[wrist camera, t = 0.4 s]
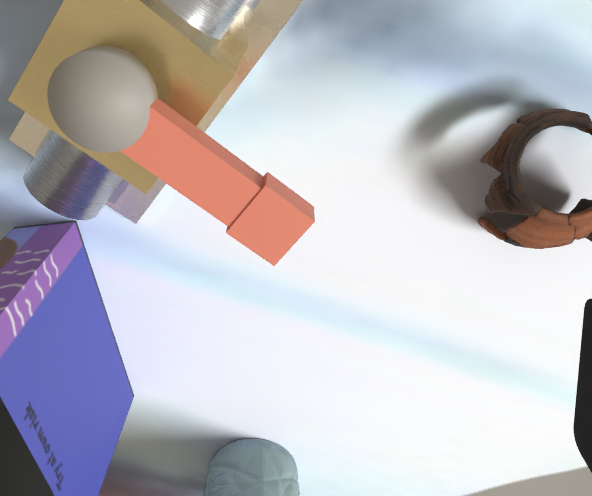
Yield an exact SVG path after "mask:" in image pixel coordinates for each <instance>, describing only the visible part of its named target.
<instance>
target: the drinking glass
mask: <svg viewBox="0 0 592 496" xmlns="http://www.w3.org/2000/svg"><path fill="white" fill-rule="evenodd" d="M205 486H206V488H205V491H204V495H203V496H299V495H300V492H299V485H298V474H297V467H296V463H295V461H294V458H293V457H292V455H291V454H290V453H289V452H288V451H287V450H286V449H285V448H283V447H282V446H280V445H278V444H276V443H274V442H271V441H268V440H264V439H258V438H249V439H242V440H240V439H238V440H236V441H234V442H230V443H229V444H226V445H225V446H224V447H222V448H221V449H220V450H219V451H218V452H217V453H216V454H215V455H214V457H213V458H212V460H211V462H210V466H209V470H208V475H207V479H206V483H205Z"/></svg>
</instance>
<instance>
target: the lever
mask: <svg viewBox="0 0 592 496" xmlns="http://www.w3.org/2000/svg"><path fill="white" fill-rule="evenodd" d="M47 98H48V105H49V109H50V112H51V114H52V117H53V119H54V121H55V122H56V124H57V125H58V127H59V128H60V129H61V131H62V132H63V133H64V134H65V135H66V136H67V137H68V138H69V139H71V140H72V141H73V142H75V143H76V144H78V145H79V146H81V147H84V148H86V149H89V150H91V151H96V152H102V153H112V152H118V151H121V152H122V153H124V154H125V155H126V156H128V157H129V158H131V159H132V160H134V161H135V162H136V163H138V164H139V165H141V166H142V167H144V168H145V169H147V170H148V171H149V172H151V173H152V174H154V175H155V176H157V177H158V178H159V179H161V180H162V181H164V182H165V183H167V184H168V185H169V186H171V187H172V188H174V189H175V190H177V191H178V192H180V193H181V194H182V195H184V196H185V197H187V198H188V199H190V200H191V201H192V202H194V203H195V204H197V205H198V206H200V207H201V208H202V209H204V210H205V211H207V212H208V213H210V214H211V215H213V216H214V217H215V218H217V219H218V220H220V221H221V222H223V223H224V224H225V225H227V226H228V227H227V231H226V233H227V234H229V235H230V236H232V237H233V238H234V239H236V240H237V241H239V242H240V243H242V244H243V245H245V246H246V247H247V248H249V249H250V250H252V251H253V252H255V253H256V254H258V255H259V256H260V257H262V258H263V259H265V260H266V261H268V262H269V263H271V264H272V265H273V266H275V265H276V264H277V262H278V261H279V260H280V259H281V258H282V257H283V256H284V255H285V254H286V253H287V251H288V250H289V249H290V248H291V247H292V246H293V245H294V244H295V243H296V242H297V241H298V239H299V238H300V237H301V236H302V235H303V234H304V233H305V232H306V231H307V230H308V228H309V227H310V226H311V225H312V224H313V223H314V222H315V218H314V207H313V206H312V205H311V204H309V203H308V202H307V201H305V200H304V199H303V198H301V197H300V196H299V195H297V194H296V193H295V192H294V191H292V190H291V189H290V188H288V187H287V186H286V185H284V184H283V183H282V182H280V181H279V180H278V179H276V178H275V177H274V176H272V175H271V174H270V173H268V172H267V173H266V174H265V175H264V177H263V176H262V175H260V174H259V173H258V172H256V171H255V170H254V169H252V168H251V167H250V166H248V165H247V164H246V163H244V162H243V161H242V160H240V159H239V158H238V157H236V156H235V155H233V154H232V153H231V152H229V151H228V150H227V149H225V148H224V147H223V146H221V145H220V144H219V143H217V142H216V141H215V140H213V139H212V138H211V137H209V136H208V135H207V134H205V133H204V132H203V131H201V130H200V129H199V128H197V127H196V126H195V125H193V124H192V123H191V122H189V121H188V120H187V119H185V118H184V117H183V116H181V115H180V114H179V113H177V112H176V111H175V110H173V109H172V108H171V107H169V106H168V105H167V104H165V103H164V102H162V101H161V100H160V99H158V93H157V88H156V85H155V82H154V80H153V77H152V76H151V74H150V72H149V71H148V69H147V68H146V67H145V65H144V64H143V63H142V62H141V61H140V60H139V59H137V58H136V57H135V56H134V55H132V54H131V53H129V52H127V51H125V50H123V49H120V48H117V47H113V46H106V45H101V46H93V47H90V48H87V49H84V50H82V51H80V52H78V53H76V54H74V55H72V56H70V57H68V58H66V59H65V60H63V61H62V62H61V63H60V64H59V65H58V66H57V67H56V68H55V70H54V71H53V73H52V75H51V77H50V80H49V83H48V90H47Z"/></svg>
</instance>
